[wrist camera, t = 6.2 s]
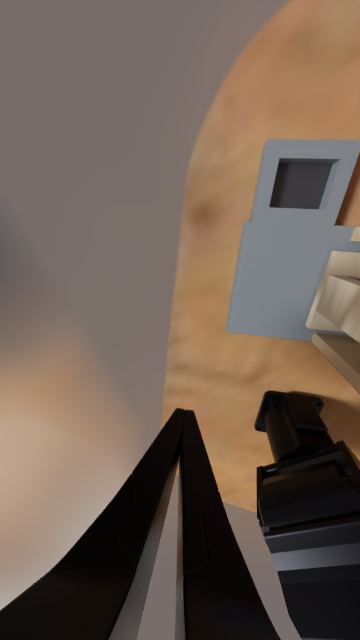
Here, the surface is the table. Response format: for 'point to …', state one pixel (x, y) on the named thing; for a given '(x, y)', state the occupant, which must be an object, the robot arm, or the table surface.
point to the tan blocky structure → (338, 296)
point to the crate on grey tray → (295, 245)
